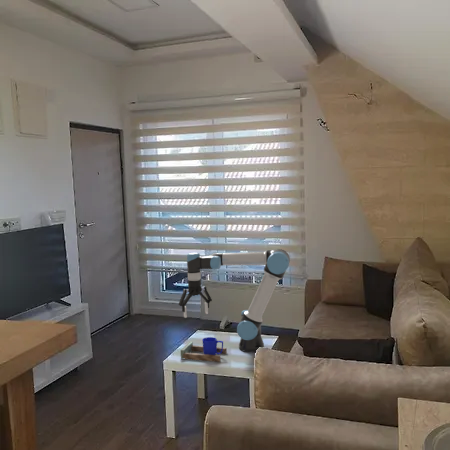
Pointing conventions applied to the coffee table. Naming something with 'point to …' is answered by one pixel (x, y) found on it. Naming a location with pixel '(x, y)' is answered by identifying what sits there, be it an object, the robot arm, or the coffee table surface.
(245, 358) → the coffee table surface
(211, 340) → the mug
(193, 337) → the coffee table surface
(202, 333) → the coffee table surface
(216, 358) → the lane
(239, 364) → the coffee table surface
